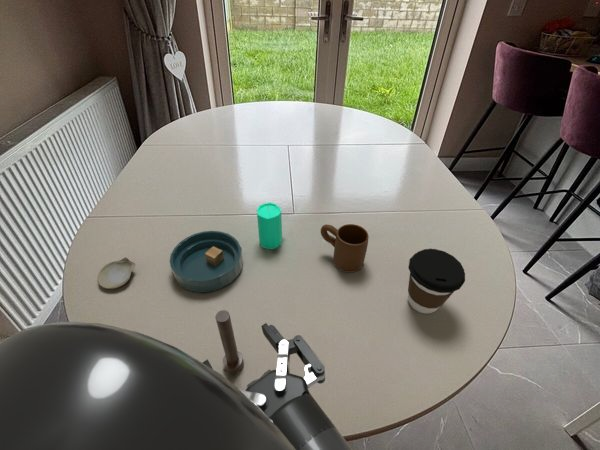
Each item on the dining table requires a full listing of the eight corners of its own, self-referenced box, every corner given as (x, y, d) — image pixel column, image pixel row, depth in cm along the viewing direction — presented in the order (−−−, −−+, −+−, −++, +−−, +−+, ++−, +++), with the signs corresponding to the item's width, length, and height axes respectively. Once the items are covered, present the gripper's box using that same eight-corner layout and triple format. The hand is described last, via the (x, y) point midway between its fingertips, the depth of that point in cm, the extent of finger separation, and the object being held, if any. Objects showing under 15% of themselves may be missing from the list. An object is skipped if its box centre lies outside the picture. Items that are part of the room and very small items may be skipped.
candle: (260, 233, 90) (257, 197, 82) (282, 233, 90) (282, 198, 82) (258, 248, 86) (254, 212, 78) (281, 249, 86) (280, 213, 78)
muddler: (230, 378, 61) (217, 330, 50) (220, 363, 63) (206, 314, 52) (247, 366, 62) (238, 317, 52) (237, 351, 65) (226, 302, 54)
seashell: (99, 284, 78) (111, 297, 73) (91, 275, 77) (103, 289, 72) (129, 260, 82) (143, 272, 77) (122, 252, 80) (136, 263, 75)
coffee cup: (452, 327, 69) (473, 291, 61) (399, 319, 71) (412, 283, 63) (444, 286, 78) (461, 250, 70) (396, 279, 79) (408, 243, 71)
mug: (312, 258, 84) (313, 230, 77) (326, 240, 88) (328, 213, 82) (355, 278, 79) (361, 250, 73) (368, 258, 84) (374, 230, 78)
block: (216, 266, 80) (214, 258, 78) (206, 262, 81) (204, 253, 79) (224, 259, 82) (222, 250, 80) (214, 254, 83) (213, 246, 81)
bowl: (193, 306, 72) (189, 293, 69) (163, 262, 82) (158, 249, 79) (255, 270, 80) (254, 257, 77) (221, 235, 89) (219, 222, 87)
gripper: (364, 397, 34) (278, 299, 45) (241, 504, 28) (175, 361, 38) (361, 427, 38) (283, 332, 49) (255, 525, 32) (192, 392, 43)
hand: (236, 345), depth 44 cm, fingers open, 8 cm apart
